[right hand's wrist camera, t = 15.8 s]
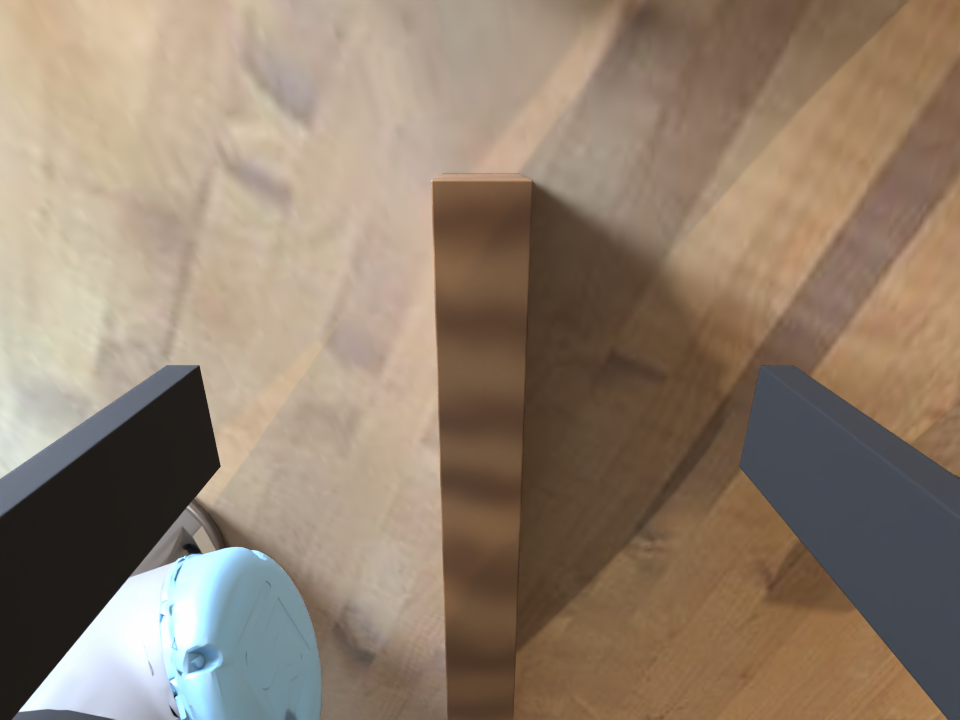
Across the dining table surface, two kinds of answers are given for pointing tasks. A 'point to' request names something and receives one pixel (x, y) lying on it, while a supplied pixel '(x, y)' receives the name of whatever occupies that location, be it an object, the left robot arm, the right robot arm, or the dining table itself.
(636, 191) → the dining table surface
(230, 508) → the dining table surface
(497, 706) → the post
